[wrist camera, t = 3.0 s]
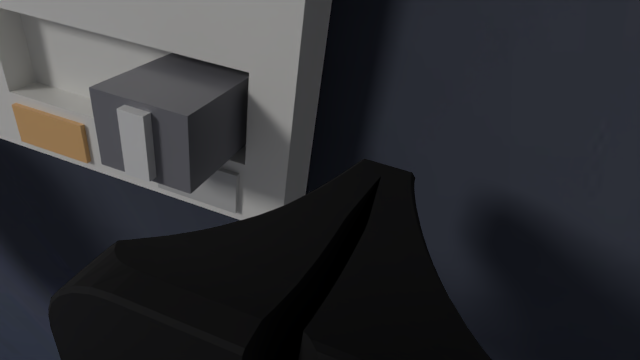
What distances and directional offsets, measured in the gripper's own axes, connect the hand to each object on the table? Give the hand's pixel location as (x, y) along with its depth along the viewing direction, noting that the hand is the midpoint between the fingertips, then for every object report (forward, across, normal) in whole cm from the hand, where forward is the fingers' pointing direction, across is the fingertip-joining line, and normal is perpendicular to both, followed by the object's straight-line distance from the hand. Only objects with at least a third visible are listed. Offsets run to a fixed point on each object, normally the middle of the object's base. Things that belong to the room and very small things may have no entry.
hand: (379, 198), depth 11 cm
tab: (+3, +7, 0) cm, 7 cm away
